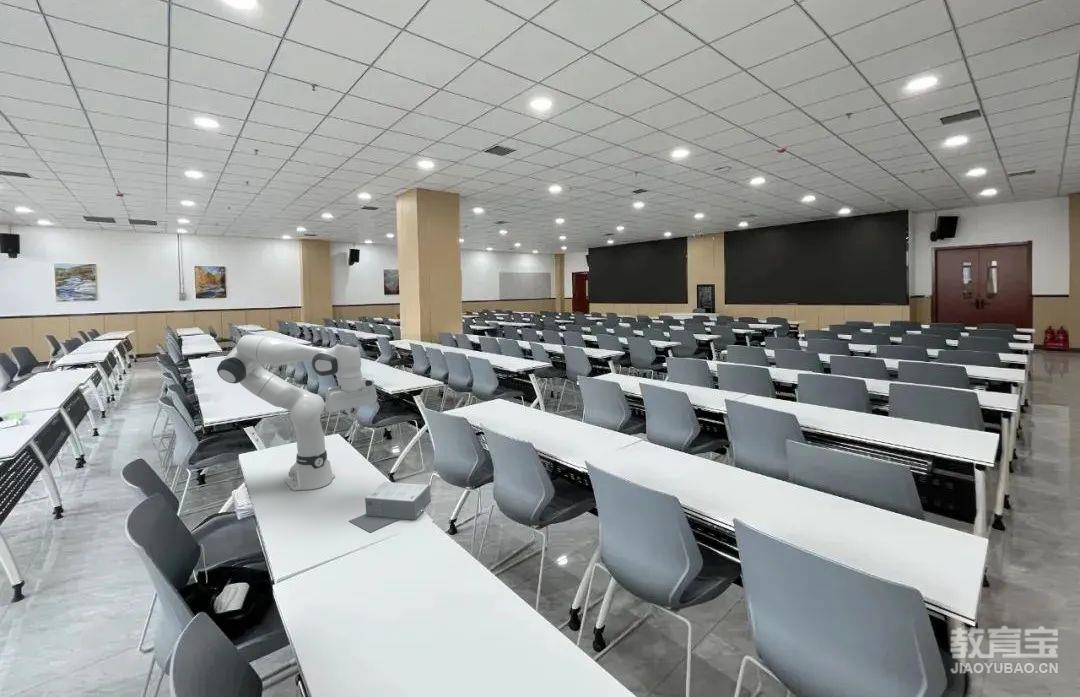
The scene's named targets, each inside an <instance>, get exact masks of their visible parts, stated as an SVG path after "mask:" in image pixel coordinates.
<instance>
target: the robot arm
mask: <svg viewBox="0 0 1080 697" xmlns="http://www.w3.org/2000/svg"><path fill="white" fill-rule="evenodd" d="M361 359H362V358H361V352H360V347H359V346H358V344H356V343H354V342H351V341H340V342H338V343H336V344H335V345H334V346H332V347H330V348H327V347H319V346H314V345H306V344H301V343H298V342H293V341H289V340H286V339H282V338H277V337H273V336H268V335H264V334H263V335H262V334H245V335H243V336H240V338H239V340H237V342H236V346H234V347H233V348H232V349H231V350H230V351H229V353H228V354H227V355H225V358H224V359H222V360H221V361H220V362H219V364H218V366H217V368H216V372H217V374H218V376H219V377H220V379H221V380H223V381H225V382H226V383H229V384H240V385H241V386H242V387H243V388H245V389H246V390H247V391H248V392H250V393H251V394H253V395H254V396H256V397H258V398H260V399H261V400H263V401H265V402H266V403H268V404H270V405H272V406H274V407H276V408H281V409H285V410H288V411H290V413H289V419H290V422H291V423H292V427H293V430H294V434H295V437H296V438H295V439H296V450H297V453H296V459H295V460H296V461H295V463H294V464H293V465H291V467H290V469H289V471H288V472H287V474H288V476H287V477H285V479H284V482H285V483H286V484H287V486H288V487H289V488H290V489H291V490H292V491H293V492H294V491H301V490H305V491H307V490H316V489H320V488H322V487H323V488H324V487H325V486H327V485H329V484H331V483H332V481H333V479H334V478H335V477H336V474H333V472H332V465H331V461H330V460H329V459H328V454H327V453H328V452H327V449H326V444H325V443H326V442H325V441H326V440H325V434H324V433H325V432H324V430H323V427H322V424H321V415H322V414H323V412H324V410H325V411H327V412H329V413H335V412H340V411H345V413H346V414H347V417H348V420H353V419H356V418H358V413H359V412H360V407H361V406H365V405H370V404H374V403H376V401H377V400H378V398H377V397H378V396H377V389H376V387H375V386H374V385H375V380H373V379H369V378H365V377H363V374H362V372H361V366H362V360H361ZM298 362H310V363H311V366H312V369H313V371H314V372H315V373H316V375H317V376H321V377H329V376H332V375H336V377H337V384H338V385H336V386H333V387H328V388H327V389H326V390H325V392H324V395H325V401H324V398H323V397H322V396H321V395H319V394H318V393H317V394H316V393H313V392H310V391H309V390H306V389H303V388H301V387H298V386H295V385H293V384H292V383H290V382H289V381H286V380H285V379H283V378H281V377H280V376H278V375H277V374H274V373H272V372H271V371H269V370H267V369H265V368H264V366H263V365H267V366H283V365H288V364H292V363H298ZM352 408H353V409H354V410H353V412H352V413H351V411H352Z"/></svg>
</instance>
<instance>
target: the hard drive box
mask: <svg viewBox="0 0 1080 697" xmlns="http://www.w3.org/2000/svg"><path fill="white" fill-rule="evenodd" d="M431 498H432V495H431V485H430V484H427V483H426V484H425V483H424V484H423V483H407V482H394V481H393V482H392V481H384V482H382V483H381V484H380V485H379V486H377V487H376V488H375V489H374V490H372V491H371V492H370V493H368V495H367V496H365V498H364V502H365V514H366V516H374V517H387V518H400V520H403V519H404V520H417V518H418V517H419V516H420V515H421V514H422V512H424V510H426V508H427V507H428V506H429V505H430V503H431V502H432V500H431ZM421 510H422V511H421Z"/></svg>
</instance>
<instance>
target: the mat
mask: <svg viewBox="0 0 1080 697" xmlns="http://www.w3.org/2000/svg"><path fill="white" fill-rule="evenodd" d="M398 521H401V519H400V518H387V517H374V516H366V513H364V514H362V515H360V516H357V517H355V518H352V519H350V520H348V522H349V523H350V524H353V525H354V526H356V527H358V528H360V529H362V530H364V531H365V532H368V533H369V534H371V533H373V532H376V531H379V530H380V529H382V528H384V527H387V526H389V525H391V524H393V523H395V522H398Z"/></svg>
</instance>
